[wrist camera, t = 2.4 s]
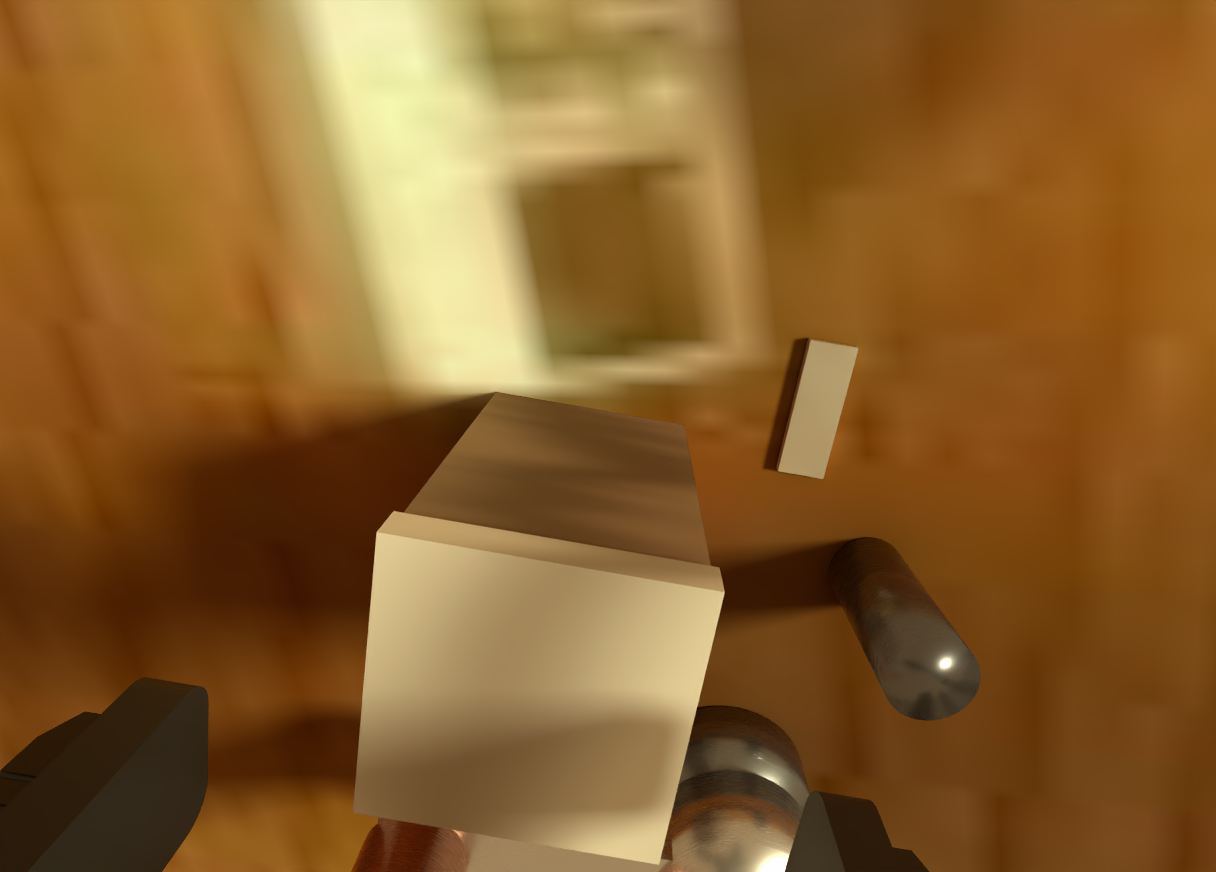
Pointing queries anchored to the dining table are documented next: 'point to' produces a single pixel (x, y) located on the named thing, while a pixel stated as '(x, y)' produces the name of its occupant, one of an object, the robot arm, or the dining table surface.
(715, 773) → the crank
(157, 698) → the robot arm
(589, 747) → the block
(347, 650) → the dining table surface
